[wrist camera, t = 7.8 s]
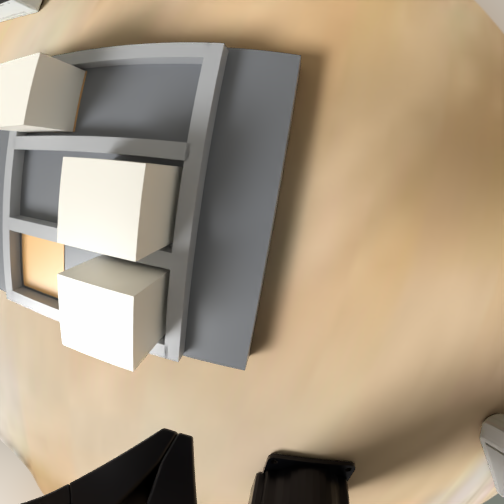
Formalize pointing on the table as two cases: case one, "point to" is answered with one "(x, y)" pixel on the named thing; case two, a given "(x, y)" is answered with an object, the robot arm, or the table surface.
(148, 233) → the white cube block
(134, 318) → the tab
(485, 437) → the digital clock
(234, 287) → the switch bank
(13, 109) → the tab
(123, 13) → the table surface
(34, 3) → the tea box
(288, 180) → the table surface
